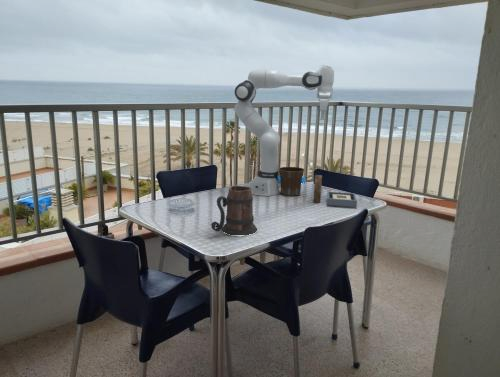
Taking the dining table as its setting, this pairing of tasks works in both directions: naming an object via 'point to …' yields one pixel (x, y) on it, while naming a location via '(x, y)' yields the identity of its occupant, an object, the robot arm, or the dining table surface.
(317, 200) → the peg
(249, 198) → the tankard
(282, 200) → the dining table surface
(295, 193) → the plant pot
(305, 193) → the dining table surface
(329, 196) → the tray
